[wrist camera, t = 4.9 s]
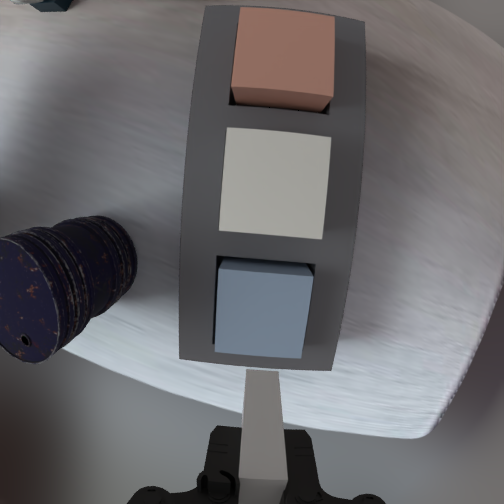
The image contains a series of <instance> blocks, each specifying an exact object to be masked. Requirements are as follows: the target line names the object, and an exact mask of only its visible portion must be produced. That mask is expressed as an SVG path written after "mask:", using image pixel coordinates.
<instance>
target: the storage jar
mask: <svg viewBox="0 0 504 504" xmlns="http://www.w3.org/2000/svg"><path fill="white" fill-rule="evenodd" d="M136 272H137V255H136V250H135V247H134V244H133V242H132V240H131V238H130V236H129V235H128V233H127V232H126V231H125V229H124V228H123V227H122V226H121V225H120V224H118V223H117V222H116V221H114V220H112V219H110V218H107V217H104V216H90V217H79V218H75V219H68V220H64V221H62V222H60V223H58V224H56V225H55V226H53V227H52V228H49V227H33V228H30V229H26V230H22V231H18V232H15V233H12V234H11V235H8V236H6V237H1V238H0V346H1V347H2V348H3V349H4V350H5V351H6V352H8V353H9V354H10V355H11V356H13V357H14V358H16V359H18V360H20V361H22V362H25V363H29V364H38V363H42V362H44V361H46V360H48V359H49V358H50V357H51V356H52V355H53V354H54V353H55V352H57V351H58V350H59V349H60V348H62V347H64V346H66V345H67V344H68V343H69V342H70V341H71V340H72V339H74V338H75V337H76V336H77V335H79V334H80V333H81V332H82V331H83V330H84V328H85V327H86V325H87V324H88V322H89V321H90V319H91V318H93V317H96V316H98V315H101V314H102V313H104V312H105V311H107V310H108V309H109V308H110V307H111V306H112V305H113V304H114V303H116V302H117V301H118V300H119V299H120V297H121V296H122V295H124V294H125V293H126V292H127V291H128V290H129V288H130V287H131V286H132V284H133V282H134V279H135V277H136Z"/></svg>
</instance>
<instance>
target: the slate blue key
mask: <svg viewBox="0 0 504 504" xmlns="http://www.w3.org/2000/svg"><path fill="white" fill-rule="evenodd" d="M312 284H313V275H312V273H311V271H310V270H309V268H308V266H307V265H306V263H301V262H289V261H278V260H266V259H254V258H242V257H231V256H225V257H224V259H223V261H222V263H221V265H220V267H219V272H218V290H217V310H216V332H215V352H221V353H230V354H241V355H252V356H265V357H280V358H299V359H301V355H302V349H303V343H304V337H305V331H306V325H307V318H308V312H309V305H310V298H311V291H312Z"/></svg>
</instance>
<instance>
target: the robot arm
mask: <svg viewBox="0 0 504 504" xmlns="http://www.w3.org/2000/svg"><path fill="white" fill-rule="evenodd" d="M127 504H385V502H384V501H383V500H382V499H381V498H380V497H378V496H376V495H373V494H363V495H359V496H357V497H355V498H354V499H353V500H348V499H342V498H336V497H333V496H331V495H329V494H327V493H326V492H324V491H323V489H322V488H321V486H320V484H319V479H318V474H317V468H316V462H315V457H314V451H313V445H312V440H311V438H310V436H309V435H308V434H307V432H306V431H305V430H289V429H288V430H287V429H284V428H283V417H282V406H281V395H280V384H279V373H278V371H262V370H249V369H247V370H246V381H245V392H244V402H243V414H242V427H241V428H239V427H227V426H216V428H215V429H214V430H213V431H212V432H211V434H210V440H209V445H208V450H207V455H206V461H205V466H204V471H202V472H201V473H200V474H199V476H198V478H197V487H196V488H194V489H193V490H190V491H187V492H182V493H181V492H180V493H169V492H168V491H166V490H164V489H163V488H160V487H156V486H150V487H149V486H147V487H144V488H141V489H139V490H138V491H137V492H136V493H135V494H134V495H133V496H132V498H131V499H130V500H129V502H128V503H127Z"/></svg>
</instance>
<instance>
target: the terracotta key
mask: <svg viewBox="0 0 504 504" xmlns="http://www.w3.org/2000/svg"><path fill="white" fill-rule="evenodd" d="M334 56H335V17H333V16H327V15H321V14H315V13H308V12H300V11H291V10H281V9H269V8H253V7H240V15H239V22H238V30H237V38H236V47H235V55H234V64H233V73H232V82H231V88H232V91H233V94H234V98H235V101H236V104H237V105H251V106H264V107H276V108H286V109H295V110H304V111H312V112H319V113H321V111H322V110H323V109H324V108H325V106H326V105H327V104H328V103H329V101H330V100H331V99H332V98H333V93H334Z"/></svg>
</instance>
